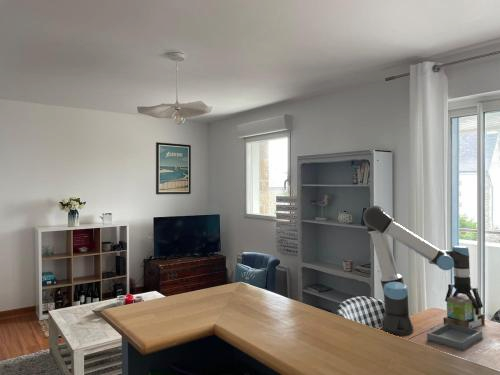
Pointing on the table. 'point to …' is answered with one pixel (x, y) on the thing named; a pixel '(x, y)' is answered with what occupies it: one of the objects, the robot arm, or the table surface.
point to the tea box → (462, 310)
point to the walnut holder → (461, 323)
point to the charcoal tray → (454, 336)
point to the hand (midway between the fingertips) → (464, 318)
